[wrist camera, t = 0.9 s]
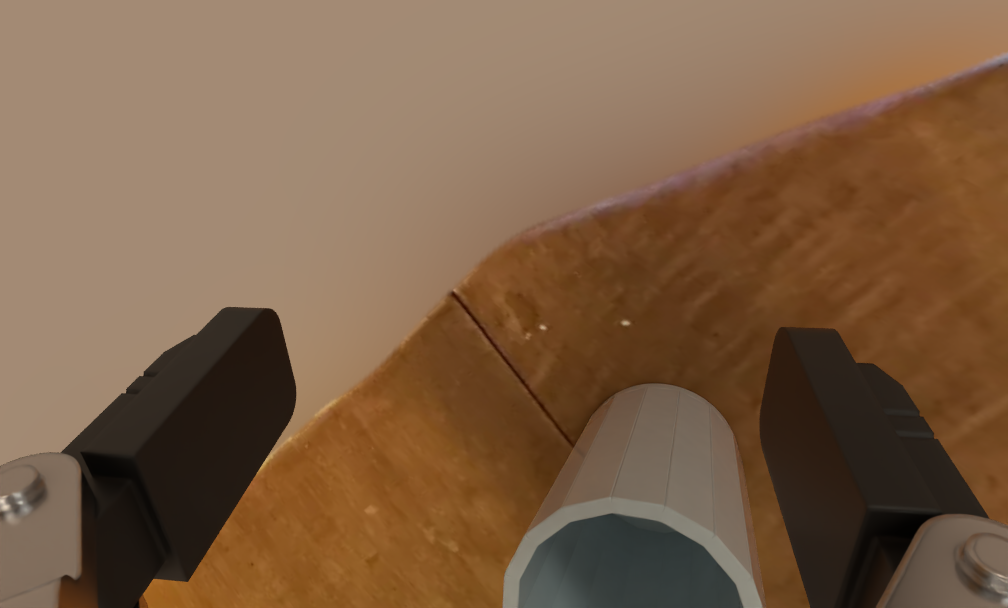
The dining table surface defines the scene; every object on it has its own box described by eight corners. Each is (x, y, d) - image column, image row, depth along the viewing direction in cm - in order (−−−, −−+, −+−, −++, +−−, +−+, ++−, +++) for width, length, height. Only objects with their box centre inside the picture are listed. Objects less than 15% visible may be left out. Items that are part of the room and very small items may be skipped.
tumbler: (623, 355, 25) (568, 450, 15) (770, 432, 24) (823, 595, 14) (557, 481, 27) (464, 650, 16) (693, 560, 25) (686, 796, 15)
